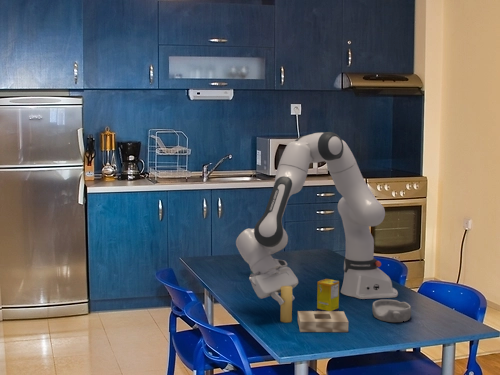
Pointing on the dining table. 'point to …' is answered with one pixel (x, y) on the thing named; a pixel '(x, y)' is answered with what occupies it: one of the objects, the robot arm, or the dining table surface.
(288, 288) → the pin
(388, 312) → the dish
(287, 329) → the dining table surface
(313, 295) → the dining table surface
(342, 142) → the robot arm
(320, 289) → the supplement box
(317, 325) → the hole block
